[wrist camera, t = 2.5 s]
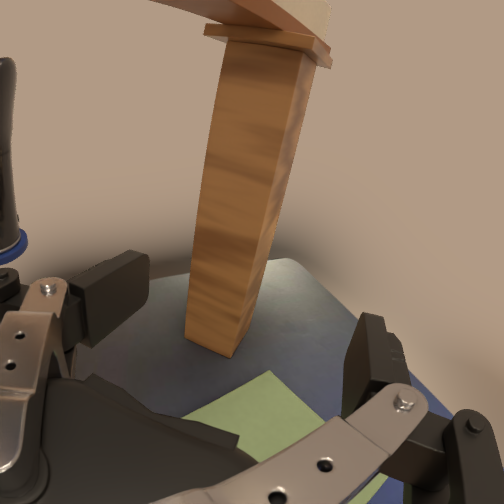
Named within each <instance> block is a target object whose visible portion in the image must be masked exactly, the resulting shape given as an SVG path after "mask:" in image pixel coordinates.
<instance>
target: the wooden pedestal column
mask: <svg viewBox="0 0 504 504" xmlns="http://www.w3.org/2000/svg"><path fill="white" fill-rule="evenodd" d="M203 35H204V36H207V37H211V38H213V39H216V40H219V41H222V42H225V43H227V45H226V49H225V54H224V58H223V64H222V68H221V73H220V78H219V83H218V88H217V94H216V99H215V104H214V110H213V115H212V121H211V126H210V133H209V138H208V144H207V150H206V157H205V163H204V169H203V176H202V183H201V190H200V197H199V204H198V212H197V219H196V227H195V235H194V243H193V252H192V262H191V270H190V279H189V289H188V300H187V311H186V323H185V335H184V337H185V338H186V339H188V340H191V341H193V342H195V343H197V344H199V345H201V346H203V347H205V348H207V349H210V350H212V351H214V352H216V353H218V354H221V355H223V356H225V357H227V358H231V357H232V355H233V353H234V352H235V350H236V348H237V347H238V345H239V343H240V342H241V340H242V339H243V337H244V335H245V334H246V332H247V330H248V329H249V326H250V322H251V319H252V315H253V311H254V308H255V304H256V300H257V297H258V293H259V289H260V286H261V282H262V278H263V275H264V271H265V267H266V263H267V260H268V255H269V252H270V248H271V245H272V241H273V237H274V233H275V229H276V225H277V222H278V218H279V214H280V210H281V206H282V202H283V198H284V195H285V191H286V187H287V183H288V179H289V175H290V171H291V167H292V163H293V159H294V155H295V151H296V147H297V143H298V139H299V135H300V131H301V127H302V123H303V119H304V115H305V111H306V107H307V102H308V99H309V94H310V90H311V86H312V82H313V78H314V73H315V69H316V66H320V67H324V68H328V69H331V65H332V61H333V60H332V59H331V57H330V56H329V54H328V53H327V52H326V50H325V49H324V48H323V46H322V45H321V44H320V43H319V41H318V40H317V39H316V37H315V36H310V35H305V34H300V33H294V32H288V31H282V30H275V29H268V28H260V27H251V26H240V25H228V24H210V23H209V24H208V23H207V24H206V25H205V30H204V34H203Z"/></svg>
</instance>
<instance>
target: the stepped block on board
mask: <svg viewBox="0 0 504 504" xmlns="http://www.w3.org/2000/svg"><path fill="white" fill-rule="evenodd" d="M150 1H154V2H158V3H161V4H165V5H168V6H172V7H175V8H179V9H182V10H185V11H188V12H191V13H194V14H197V15H200V16H203V17H206V18H209V19H211V20H214V21H217V22H220V23H222V24H228V25H240V26H251V27H260V28H268V29H275V30H282V31H288V32H294V33H300V34H305V35H310V36H315V37H316V39H317V40H318V41H319V43H320V44H321V45H322V46H323V48H324V49H325V50H326V52H327V53H328V54H329V53H330V50H331V48H330V47H329V46H328V45H327V44H326V43H324V40H325V36H326V31H327V27H328V22H329V18H330V14H331V9H332V8H331V7H330V6H329V4H328V3H327V2H326V0H150Z"/></svg>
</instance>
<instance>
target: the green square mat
mask: <svg viewBox="0 0 504 504" xmlns="http://www.w3.org/2000/svg"><path fill="white" fill-rule="evenodd" d="M182 419H188V420H193V421H199V422H202V423H204V424H207V425H210V426H213V427H216V428H219V429H222V430H225V431H228V432H231V433H234V434H237V435H240V437H239V441H238V445H237V447H238V448H239V449H241V450H243V451H245V452H246V453H247V454H249V455H250V456H252V457H253V458H254V459H255V460H257V461H258V462H259V463H260V462H262V461H264V460H266V459H267V458H269V457H271V456H273V455H275V454H276V453H278V452H280V451H281V450H283V449H285V448H287V447H288V446H290V445H292V444H293V443H295V442H296V441H298V440H300V439H301V438H303V437H304V436H306V435H308V434H309V433H311V432H312V431H314V430H315V429H317V428H318V427H320V426H321V425H323V424H324V423H326V422H325V421H324V420H322V419H321V418H320V417H319V416H318V415H317V414H316V413H315V412H314V411H312V410H311V409H310V408H309V407H308V406H307V405H306V404H305V403H304V402H303V401H301V400H300V399H299V398H298V397H297V396H296V395H295V394H294V393H293V392H292V391H291V390H290V389H289V388H288V387H286V386H285V385H284V384H283V383H282V382H281V381H280V380H279V379H278V378H277V377H276V376H275V375H274V374H273V373H272V372H271V371H270V370H268V371H267V372H265V373H263V374H262V375H260V376H258V377H256V378H255V379H253V380H251V381H250V382H248V383H246V384H244V385H243V386H241V387H239V388H237V389H235V390H234V391H232V392H230V393H228V394H226V395H225V396H223V397H221V398H219V399H217V400H215V401H213V402H211V403H210V404H208V405H206V406H204V407H202V408H200V409H198V410H196V411H194V412H192V413H190V414H188V415H186V416H184V417H182ZM387 478H388V476H386V475H384V474H381V473H379V474H378V475H377V476H376V477H375V478H374V479H373V480H372V481H371V482H370V483H369V484H368V485H367V486H366V487H365V488H364V489H363V490H362V491H361V492H360V493H359V494H358V495H356V496H355V497H354V498H353V499H352V500H351V501H350V502H349V503H348V504H366V503H367V502H368V501H369V500H370V499H371V498H372V496H373V495H374V494H375V493H376V492H377V490H378V489H379V488H380V487H381V485H382V484H383V483H384V482H385V480H386V479H387Z"/></svg>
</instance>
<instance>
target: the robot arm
mask: <svg viewBox="0 0 504 504" xmlns="http://www.w3.org/2000/svg"><path fill="white" fill-rule="evenodd" d="M16 77H17V72H16V66H15V62H14V60H13V59H12V58H9V57H4V58H0V254H4V253H6V252H8V251H10V250H12V249H13V248H15V247H16V246H17V245H18V244H19V242H20V240H21V234H20V231H19V225H18V222H19V218H18V215H17V211H16V203H15V195H14V185H13V173H12V156H11V136H12V128H13V108H14V98H15V90H16ZM149 263H150V260H149V257H148V255H147V254H144V253H140V252H137V251H133V250H128V251H126V252H124V253H122V254H120V255H118V256H116V257H114V258H112V259H110V260H105V261H103V262H101V263H99V264H97V265H95V267H94V266H93V267H91V268H89V269H88V271H87V270H86V271H84V272H82V273H80V274H78V275H76V276H74V277H73V278H71V279H69V280H67V281H64V280H63V279H61V278H56V277H46V278H42V279H38V280H37V281H35V282H33V283H32V284H31V285H30V286H27V285H23V284H20V280H19V274H18V271H17V270H15V269H13V268H0V504H348V503H349V502H350V501H351V500H352V499H353V498H354V497H355V496H356V495H358V494H359V493H360V492H361V491H362V490H363V489H364V488H365V487H366V486H367V485H368V484H369V483H370V482H371V481H372V480H373V479H374V478H375V477H376V476H377V475H378V474H379V473H381V474H384V475H386V476H389V477H392V478H394V479H397V480H399V481H402V482H404V491H403V504H504V471H503V467H502V463H501V459H500V454H499V450H498V447H497V443H496V439H495V436H494V432H493V429H492V427H491V424H490V422H489V421H488V420H487V419H486V418H485V417H484V416H483V415H482V414H480V413H479V412H477V411H474V410H470V409H464V410H460V411H458V412H457V413H456V414H455V416H454V417H453V418H452V420H449V419H447V418H444V417H441V416H439V415H436V414H434V413H432V412H430V411H428V402H427V400H426V398H425V397H424V395H423V394H422V393H421V392H420V391H418V390H417V389H415V388H414V387H412V386H411V381H410V377H409V372H408V368H407V364H406V362H405V356H404V354H403V353H404V352H403V348H402V344H401V342H400V341H399V339H398V338H397V337H396V336H395V334H394V333H389V332H387V331H386V326H385V322H384V318H383V317H382V316H378V315H374V314H369V313H364V312H363V313H362V314H361V316H360V318H359V321H358V323H357V326H356V329H355V331H354V334H353V337H352V339H351V342H350V344H349V347H348V350H347V353H346V356H345V360H344V371H343V394H342V411H341V416H339V415H338V416H335V417H333V418H332V419H330V420H329V421H327V422H326V423H324V424H323V425H321V426H320V427H318V428H317V429H315V430H314V431H312V432H311V433H309V434H308V435H306V436H304V437H303V438H301V439H300V440H298V441H296V442H295V443H293V444H292V445H290V446H288V447H287V448H285V449H283V450H281V451H280V452H278V453H276V454H275V455H273V456H271V457H269V458H267V459H266V460H264V461H262V462H260V463H259V462H258V461H257V460H255V459H254V458H253V457H252V456H250V455H249V454H247V453H246V452H245V451H243V450H241V449H239V448H238V447H237V445H238V441H239V437H240V435H237V434H234V433H231V432H228V431H225V430H222V429H219V428H216V427H213V426H210V425H207V424H204V423H202V422H199V421H193V420H188V419H182V418H177V417H171V416H166V415H162V414H157V413H154V412H152V411H150V410H149V409H148V408H146V407H145V406H144V405H142V404H141V403H140V402H139V401H137V400H136V399H135V398H133V397H132V396H131V395H130V394H129V393H127V392H126V391H125V390H124V389H122V388H120V387H118V386H116V385H114V384H112V383H110V382H108V381H106V380H104V379H103V378H101V377H99V376H97V375H95V374H93V373H92V374H91V375H90V376H89V377H88V378H87V379H86V380H85V381H81V380H76V379H75V372H76V360H77V348H76V344H77V343H79V342H80V343H82V344H83V345H85V346H87V347H89V348H91V349H92V348H93V347H94V346H95V345H97V344H98V343H99V342H100V341H101V340H102V339H104V338H105V337H106V336H107V335H108V334H110V333H111V332H112V331H113V330H115V329H116V328H117V327H118V326H119V325H121V324H122V323H123V322H124V321H125V320H127V319H128V318H129V317H130V316H132V315H133V314H134V313H135V312H136V311H138V310H139V309H140V308H141V307H142V306H143V305H144V304H145V303H146V301H147V298H148V294H149V266H150V264H149Z"/></svg>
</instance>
